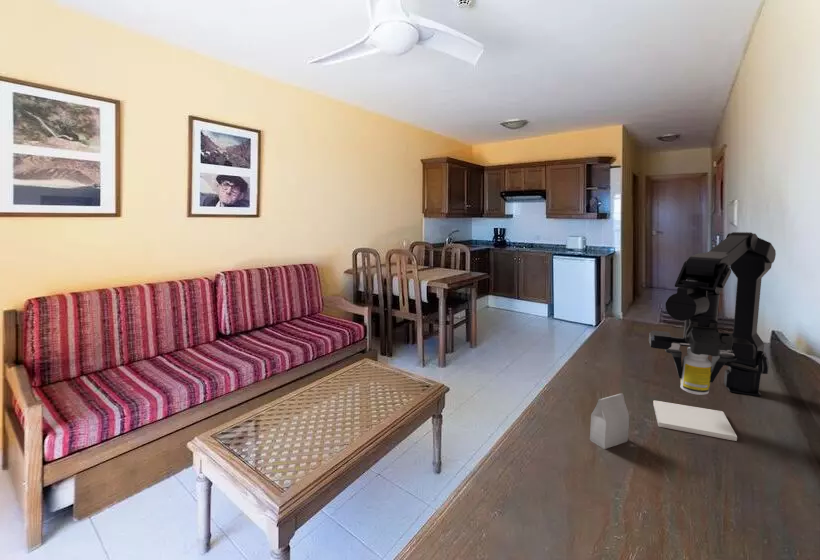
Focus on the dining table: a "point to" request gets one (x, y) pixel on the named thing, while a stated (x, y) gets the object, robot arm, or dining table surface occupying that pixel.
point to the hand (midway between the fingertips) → (695, 379)
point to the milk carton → (609, 422)
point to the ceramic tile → (693, 420)
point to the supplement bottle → (696, 373)
